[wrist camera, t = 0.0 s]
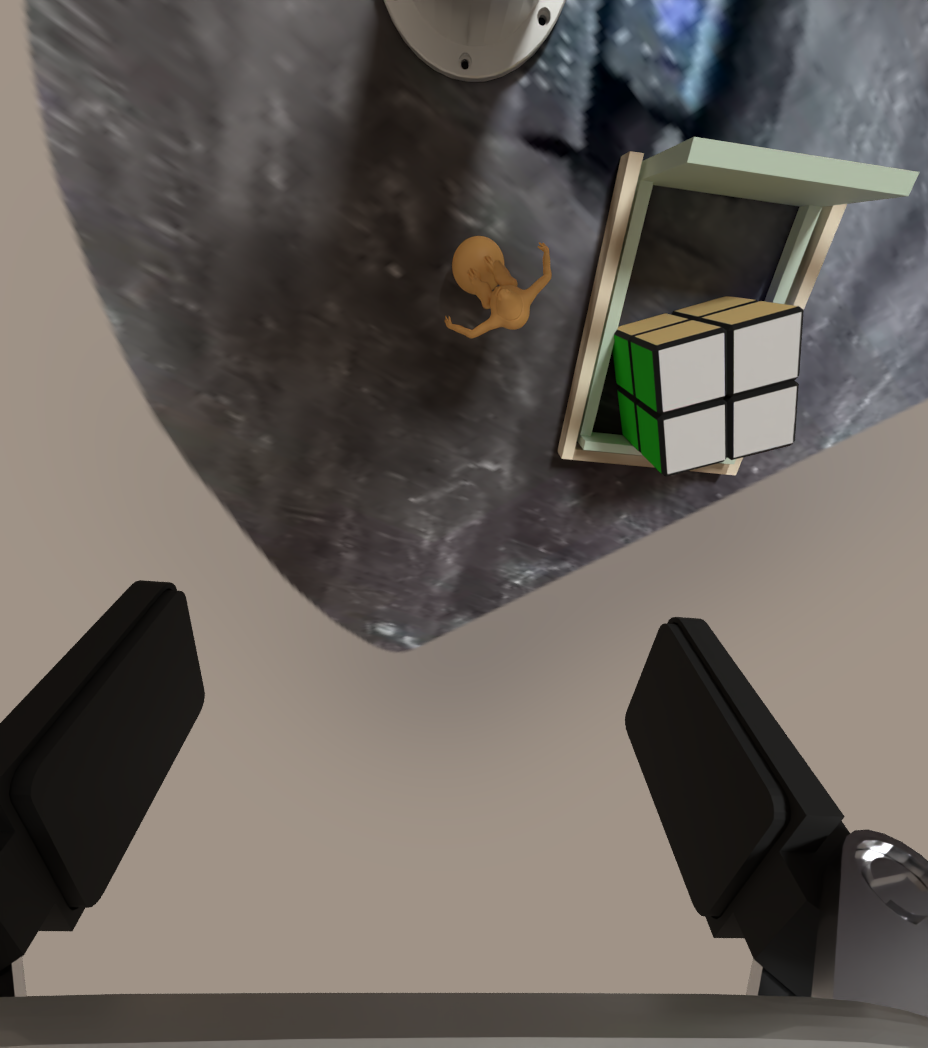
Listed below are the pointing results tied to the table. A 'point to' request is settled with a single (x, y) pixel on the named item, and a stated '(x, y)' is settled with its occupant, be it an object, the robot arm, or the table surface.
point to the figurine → (494, 285)
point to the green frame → (740, 177)
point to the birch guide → (601, 298)
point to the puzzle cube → (709, 382)
